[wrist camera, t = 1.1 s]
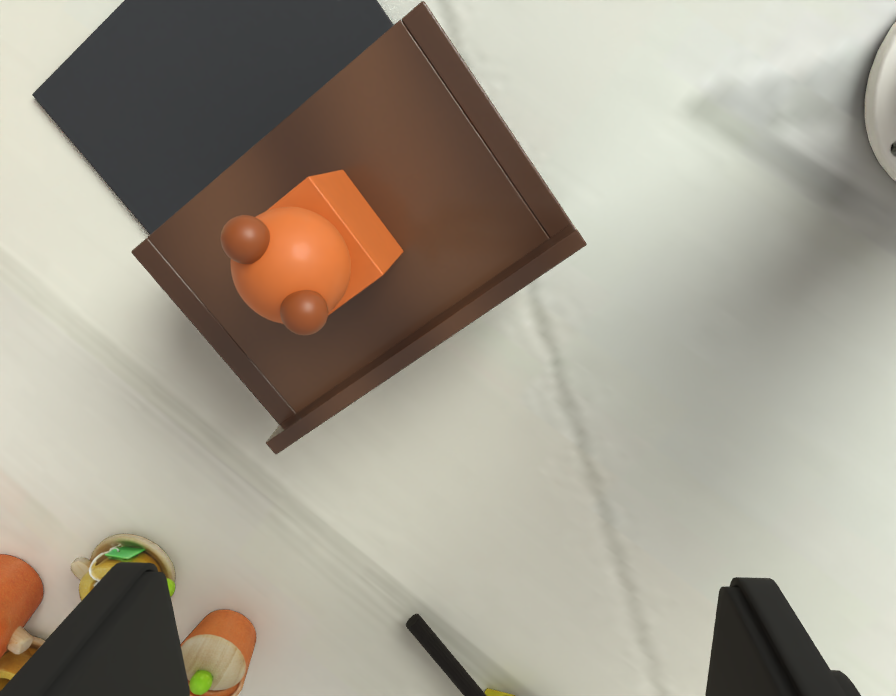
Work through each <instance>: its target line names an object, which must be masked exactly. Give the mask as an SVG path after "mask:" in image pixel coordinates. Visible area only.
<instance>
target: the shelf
mask: <svg viewBox="0 0 896 696" xmlns="http://www.w3.org/2000/svg"><path fill="white" fill-rule="evenodd" d="M338 170H344V172H345V173H346V174H347V176H348V177H349V178H350V180H351V181H352V182H353V184H354V185H355V186H356V188H357V189H358V190H359V192H360V193H361V194H362V196H363V197H364V198H365V200H366V201H367V203H368V204H369V205H370V207H371V208H372V209H373V211H374V212H375V213H376V215H377V216H378V217H379V219H380V220H381V221H382V223H383V224H384V225H385V227H386V228H387V229H388V231H389V232H390V233H391V235H392V236H393V237H394V239H395V240H396V241H397V243H398V244H399V245H400V247H401V248H402V249H403V251H404V252H403V253H402V254H401V255H400V257H399V258H398V259H397V260H396V261H395V262H394V263H393V265H392V266H391V267H390V268H389V269H388V270H387V272H386V273H385V274H384V275H383V276H382V277H380V278H379V279H378V280H376V281H375V282H374V283H372V284H371V285H369V286H368V287H367V288H365V289H364V290H363V291H361V292H360V293H358V294H357V295H356V296H354V297H353V298H352V299H350V300H349V301H348V302H346V303H345V304H343V305H342V306H341V307H339V308H338V309H337V310H335V311H334V312H333V313H331V314H330V315H328V318H327V321H326V323H325V325H324V326H323V327H322V329H320V330H319V331H318V332H316V333H314V334H311V335H298V334H295V333H293V332H291V331H290V330H289V329H287V328H286V326H285V325H284V324H281V323H277V322H273V321H271V320H268V319H266V318H264V317H262V316H260V315H259V314H257V313H256V312H255V311H253V310H252V309H251V308H250V307H249V306H248V305H247V304H246V303H245V302H244V300H243V299H242V298H241V296H240V295H239V293H238V291H237V289H236V287H235V285H234V282H233V278H232V274H231V258H229V257H228V256H227V255H226V253H225V252H224V250H223V248H222V245H221V232H222V229H223V227H224V225H225V224H226V223H227V222H228V221H229V220H230V219H232V218H234V217H236V216H240V215H249V216H253V217H256V216H258V215H259V214H261V213H263V212H265V211H267V210H268V209H269V208H270V207H272V206H273V205H274V204H275V203H276V202H278V201H279V200H280V199H281V198H283V197H284V196H285V195H286V194H287V193H289V192H290V191H291V190H292V189H294V188H295V187H296V186H297V185H298V184H300V183H301V182H302V181H303V180H305V179H306V178H307V177H309V176H314V175H319V174H324V173H328V172H333V171H338ZM586 245H587V244H586V242H585V241H584V239H583V238H582V236H581V235H580V233H579V232H578V230H577V229H576V227H575V226H574V225H573V224H572V222H571V221H570V219H569V218H568V216H567V215H566V213H565V212H564V210H563V209H562V207H561V206H560V204H559V203H558V201H557V200H556V198H555V197H554V195H553V194H552V192H551V191H550V189H549V188H548V186H547V185H546V183H545V182H544V180H543V179H542V177H541V176H540V174H539V173H538V171H537V170H536V168H535V167H534V165H533V164H532V162H531V161H530V159H529V158H528V156H527V155H526V153H525V152H524V150H523V149H522V147H521V146H520V144H519V143H518V141H517V140H516V138H515V137H514V135H513V134H512V132H511V131H510V129H509V128H508V126H507V125H506V123H505V122H504V120H503V119H502V117H501V116H500V114H499V113H498V111H497V110H496V108H495V107H494V105H493V104H492V102H491V101H490V99H489V98H488V96H487V95H486V93H485V92H484V90H483V89H482V87H481V86H480V84H479V83H478V81H477V80H476V78H475V77H474V75H473V74H472V72H471V71H470V69H469V68H468V66H467V65H466V63H465V62H464V60H463V59H462V57H461V56H460V54H459V53H458V51H457V50H456V48H455V47H454V45H453V44H452V42H451V41H450V39H449V38H448V36H447V35H446V33H445V32H444V30H443V29H442V27H441V26H440V24H439V23H438V21H437V20H436V18H435V17H434V15H433V14H432V12H431V11H430V9H429V8H428V6H427V5H426V3H425V2H424V1H422V2H421V3H420V4H418V5H417V6H416V7H415V8H414V9H413V10H411V11H410V12H409V13H408V14H407V15H406V16H404V17H403V18H402V21H401V20H399V21H398V22H397V23H396V24H395V25H394V26H392V27H391V28H390V29H389V30H388V31H387V32H385V33H384V34H383V35H382V36H381V37H380V38H378V39H377V40H376V41H375V42H374V43H373V44H372V45H370V46H369V47H368V48H367V49H366V50H365V51H363V52H362V53H361V54H360V55H359V56H358V57H356V58H355V59H354V60H353V61H352V62H351V63H349V64H348V65H347V66H346V67H345V68H344V69H342V70H341V71H340V72H339V73H338V74H337V75H335V76H334V77H333V78H332V79H331V80H330V81H328V82H327V83H326V84H325V85H324V86H323V87H322V88H320V89H319V90H318V91H317V92H316V93H315V94H313V95H312V96H311V97H310V98H309V99H308V100H306V101H305V102H304V103H303V104H302V105H301V106H299V107H298V108H297V109H296V110H295V111H294V112H292V113H291V114H290V115H289V116H288V117H287V118H285V119H284V120H283V121H282V122H281V123H280V124H279V125H277V126H276V127H275V128H274V129H273V130H272V131H270V132H269V133H268V134H267V135H266V136H265V137H263V138H262V139H261V140H260V141H259V142H258V143H256V144H255V145H254V146H253V147H252V148H251V149H249V150H248V151H247V152H246V153H245V154H244V155H242V156H241V157H240V158H239V159H238V160H237V161H236V162H234V163H233V164H232V165H231V166H230V167H229V168H227V169H226V170H225V171H224V172H223V173H222V174H220V175H219V176H218V177H217V178H216V179H215V180H213V181H212V182H211V183H210V184H209V185H208V186H206V187H205V188H204V189H203V190H202V191H201V192H199V193H198V194H197V195H196V196H195V197H194V198H192V199H191V200H190V201H189V202H188V203H187V204H186V205H184V206H183V207H182V208H181V209H180V210H179V211H177V212H176V213H175V214H174V215H173V216H172V217H170V218H169V219H168V220H167V221H166V222H165V223H163V224H162V225H161V226H160V227H159V228H158V229H156V230H155V231H154V232H153V233H152V234H151V235H149V236H148V238H146V239H145V240H144V241H143V242H142V243H140V244H139V245H138V246H137V247H136V248H135V249H133V250H132V254H133V255H134V256H135V257H136V258H137V260H138V261H139V262H140V263H141V264H142V265H143V267H144V268H145V269H146V270H147V271H148V272H149V273H150V275H151V276H152V277H153V278H154V279H155V280H156V282H157V283H158V284H159V285H160V286H161V287H162V289H163V290H164V291H165V292H166V293H167V294H168V296H169V297H170V298H171V299H172V300H173V301H174V303H175V304H176V305H177V306H178V307H179V308H180V310H181V311H182V312H183V313H184V314H185V315H186V317H187V318H188V319H189V320H190V321H191V322H192V324H193V325H194V326H195V327H196V328H197V329H198V331H199V332H200V333H201V334H202V335H203V336H204V338H205V339H206V340H207V341H208V342H209V343H210V344H211V346H212V347H213V348H214V349H215V350H216V351H217V353H218V354H219V355H220V356H221V357H222V358H223V360H224V361H225V362H226V363H227V364H228V365H229V367H230V368H231V369H232V370H233V371H234V372H235V374H236V375H237V376H238V377H239V378H240V379H241V381H242V382H243V383H244V384H245V385H246V386H247V388H248V389H249V390H250V391H251V392H252V393H253V395H254V396H255V397H256V398H257V399H258V400H259V402H260V403H261V404H262V405H263V406H264V407H265V408H266V410H267V411H268V412H269V413H270V414H271V415H272V417H273V418H274V419H275V420H276V421H277V422H278V424H279V426H278V428H277V429H276V430H275V432H274V433H273V434H272V435H271V437H270V438H269V439H268V441H267V442H266V444H267V445H268V446H269V447H270V448H271V450H272V451H273V452H274V453H275V454H278V453H279V452H281V451H282V450H284V449H285V448H287V447H288V446H289V445H291V444H292V443H294V442H295V441H297V440H298V439H300V438H301V437H303V436H304V435H306V434H307V433H309V432H310V431H312V430H313V429H315V428H316V427H318V426H319V425H321V424H322V423H324V422H325V421H327V420H328V419H329V418H331V417H332V416H334V415H335V414H337V413H338V412H340V411H341V410H343V409H344V408H346V407H347V406H349V405H350V404H352V403H353V402H355V401H356V400H358V399H359V398H361V397H362V396H364V395H365V394H367V393H368V392H369V391H371V390H372V389H374V388H375V387H377V386H378V385H380V384H381V383H383V382H384V381H386V380H387V379H389V378H390V377H392V376H393V375H395V374H396V373H398V372H399V371H401V370H402V369H404V368H405V367H407V366H408V365H409V364H411V363H412V362H414V361H415V360H417V359H418V358H420V357H421V356H423V355H424V354H426V353H427V352H429V351H430V350H432V349H433V348H435V347H436V346H438V345H439V344H441V343H442V342H444V341H445V340H447V339H448V338H449V337H451V336H452V335H454V334H455V333H457V332H458V331H460V330H461V329H463V328H464V327H466V326H467V325H469V324H470V323H472V322H473V321H475V320H476V319H478V318H479V317H481V316H482V315H484V314H485V313H487V312H488V311H489V310H491V309H492V308H494V307H495V306H497V305H498V304H500V303H501V302H503V301H504V300H506V299H507V298H509V297H510V296H512V295H513V294H515V293H516V292H518V291H519V290H521V289H522V288H524V287H525V286H527V285H528V284H529V283H531V282H532V281H534V280H535V279H537V278H538V277H540V276H541V275H543V274H544V273H546V272H547V271H549V270H550V269H552V268H553V267H555V266H556V265H558V264H559V263H561V262H562V261H564V260H565V259H566V258H568V257H569V256H571V255H572V254H574V253H575V252H577V251H578V250H580V249H581V248H583V247H584V246H586Z"/></svg>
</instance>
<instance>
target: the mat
mask: <svg viewBox="0 0 896 696" xmlns="http://www.w3.org/2000/svg"><path fill="white" fill-rule="evenodd" d="M392 26H394V25H393V23H392V22H391V20H390V19H389V17H388V16H387V15H386V13H385V12H384V10H383V9H382V7H381V6H380V4H379V3H378V1H377V0H125V1H124V2H123V3H122V4H121V5H120V6H119V7H118V8H117V9H116V10H115V11H114V12H113V13H112V14H111V15H110V16H109V17H108V18H107V19H106V20H105V21H104V22H103V23H102V24H101V25H100V26H99V27H98V28H97V29H96V30H95V31H94V32H93V33H92V34H91V35H90V36H89V37H88V38H87V39H86V40H85V41H84V42H83V43H82V44H81V45H80V46H79V47H78V48H77V49H76V50H75V51H74V53H73V54H72V55H71V56H70V57H69V58H68V59H67V60H66V61H65V62H64V63H63V64H62V65H61V66H60V67H59V68H58V69H57V70H56V71H55V72H54V73H53V74H52V75H51V76H50V77H49V78H48V79H47V80H46V81H45V82H44V83H43V84H42V85H41V86H40V87H39V88H38V89H37V90H36V91H35V92H34V93H33V94H32V95H33V96H34V98H35V99H36V100H37V101H38V102H39V103H40V105H41V106H42V107H43V108H44V109H45V111H46V112H47V113H48V114H49V115H50V116H51V118H52V119H53V120H54V121H55V122H56V124H57V125H58V126H59V127H60V128H61V129H62V131H63V132H64V133H65V134H66V135H67V137H68V138H69V139H70V140H71V141H72V142H73V144H74V145H75V146H76V147H77V148H78V150H79V151H80V152H81V153H82V154H83V155H84V157H85V158H86V159H87V160H88V161H89V163H90V164H91V165H92V166H93V167H94V169H95V170H96V171H97V172H98V173H99V174H100V176H101V177H102V178H103V179H104V180H105V182H106V183H107V184H108V185H109V186H110V187H111V189H112V190H113V191H114V192H115V193H116V195H117V196H118V197H119V198H120V199H121V200H122V202H123V203H124V204H125V205H126V206H127V208H128V209H129V210H130V211H131V212H132V213H133V215H134V216H135V217H136V218H137V219H138V221H139V222H140V223H141V224H142V225H143V226H144V228H145V229H146V230H147V231H148V232H149V234H150V235H151V234H152V233H153V232H154V231H155V230H156V229H158V228H159V227H160V226H161V225H162V224H163V223H165V222H166V221H167V220H168V219H169V218H170V217H172V216H173V215H174V214H175V213H176V212H177V211H179V210H180V209H181V208H182V207H183V206H184V205H186V204H187V203H188V202H189V201H190V200H191V199H192V198H194V197H195V196H196V195H197V194H198V193H199V192H201V191H202V190H203V189H204V188H205V187H206V186H208V185H209V184H210V183H211V182H212V181H213V180H215V179H216V178H217V177H218V176H219V175H220V174H222V173H223V172H224V171H225V170H226V169H227V168H229V167H230V166H231V165H232V164H233V163H234V162H236V161H237V160H238V159H239V158H240V157H241V156H242V155H244V154H245V153H246V152H247V151H248V150H249V149H251V148H252V147H253V146H254V145H255V144H256V143H258V142H259V141H260V140H261V139H262V138H263V137H265V136H266V135H267V134H268V133H269V132H270V131H272V130H273V129H274V128H275V127H276V126H277V125H279V124H280V123H281V122H282V121H283V120H284V119H285V118H287V117H288V116H289V115H290V114H291V113H292V112H294V111H295V110H296V109H297V108H298V107H299V106H301V105H302V104H303V103H304V102H305V101H306V100H308V99H309V98H310V97H311V96H312V95H313V94H315V93H316V92H317V91H318V90H319V89H320V88H322V87H323V86H324V85H325V84H326V83H327V82H328V81H330V80H331V79H332V78H333V77H334V76H335V75H337V74H338V73H339V72H340V71H341V70H342V69H344V68H345V67H346V66H347V65H348V64H349V63H351V62H352V61H353V60H354V59H355V58H356V57H358V56H359V55H360V54H361V53H362V52H363V51H365V50H366V49H367V48H368V47H369V46H370V45H372V44H373V43H374V42H375V41H376V40H377V39H378V38H380V37H381V36H382V35H383V34H384V33H385V32H387V31H388V30H389V29H390V28H391V27H392Z"/></svg>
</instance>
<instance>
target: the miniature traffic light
mask: <svg viewBox="0 0 896 696" xmlns="http://www.w3.org/2000/svg"><path fill="white" fill-rule="evenodd" d="M406 627H407V628H408V629H409V631H410V632H411V633H412V634H413V635H414V636H415V638H416V639H417V640H418V641H419V642H420V644H421V645H422V646H423V647H424V648H425V650H426V651H427V652H428V653H429V654H430V656H431V657H432V658H433V659H434V660H435V662H436V663H437V664H438V665H439V666H440V667H441V669H442V670H443V671H444V672H445V673H446V675H447V676H448V677H449V678H450V679H451V681H452V682H453V683H454V684H455V685H456V687H457V688H458V689H459V690H460V691H461V693H462V694H463V695H464V696H515V695H512V694H508V693H504V692H500V691H496V690H492V689H488V688H487V689H486V690H485V693H484V692H483V691H482V690H481V688H480V687H479V686H478V685H477V684H476V682H475V681H474V680H473V679H472V678H471V676H470V675H469V674H468V673H467V672H466V670H465V669H464V668H463V667H462V666H461V664H460V663H459V662H458V661H457V660H456V658H455V657H454V656H453V655H452V654H451V652H450V651H449V650H448V649H447V648H446V646H445V645H444V644H443V643H442V642H441V640H440V639H439V638H438V637H437V636H436V634H435V633H434V632H433V631H432V630H431V628H430V627H429V626H428V625H427V624H426V622H425V621H424V620H423V619H422V618H421V616H420V615H419V614H415V615H413V616H412V617H411V618H410V619H409V620H408V621H407V623H406Z"/></svg>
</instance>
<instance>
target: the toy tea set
mask: <svg viewBox="0 0 896 696" xmlns="http://www.w3.org/2000/svg"><path fill="white" fill-rule="evenodd" d="M120 562H141V563H153V564H155V566H156V567H157V569H158V572H163V573H164V574H165V576H166V578H167V583H168V588H169V592H170V597H171V596H172V595H173V593H174V591H175V570H174V567H173V564H172V562H171V560H170V559H169V557H168V555H167V554H166V553H165V552H164V551H163V550H162V549H161V548H160V547H159V546H158V545H156V544H155V543H153V542H152V541H150V540H148V539H146V538H143V537H141V536H137V535H133V534H118V535H113V536H111V537H108V538H106V539H105V540H103V541H102V542H101V543H100V544H99V545H98V546H97V547H96V548H95V549H94V551H93V553H92V556H91V559H90V560H88V559H86V558H83V557H80V558H77V559H76V560H75V561H74V562H73V563H72V564H71V571H72V572H73V573H74V575H75V576H76V577H77V578H78V579H79V580H80V584H79V593H80V598H81V601H82V600H83V599H84V598H85V597H86V596H87V594H88V593H89V592H90V591H91V590H92V589H93V588H94V587H95V586H96V584H97V583H98V582H99V581H100V580H101V579H102V578H103V577H104V576H105V574H106V573H107V572H108V571H109V570H110V569H111V568H112V567H113V566H114V565H115V564H116V563H120ZM42 597H43V585H42V582H41V579H40V577H39V575H38V574H37V573H36V571H35V570H34V569H33V568H32V567H31V566H30V565H28V564H27V563H26V562H24V561H23V560H21V559H19V558H16V557H13V556H10V555H4V554H0V691H1V690H2V689H3V688H4V687H5V685H6V684H7V683H8V682H9V681H10V680H11V679H12V678H13V677H14V675H15V674H16V673H17V672H18V671H19V670H20V669H21V668H22V667H23V665H24V664H25V663H26V662H27V661H28V660H29V659H30V658H31V657H32V655H33V654H34V653H35V652H36V651H37V650H38V649H39V648H40V647H41V645H42V644H43V643H44V642H45V640H43V639H40V638H38V637H34V636H31V635H30V634H29V633H28V632H27V631H26V630H24V629H23V627H24V625H25V624H26V623H27V621H28V620H29V618H30V617H31V616H32V614H33V613H34V611H35V610H36V609H37V607H38V606H39V604H40V602H41V600H42ZM255 643H256V632H255V629H254V627H253V625H252V623H251V622H250V621H249V620H248V619H247V618H246V617H245V616H243V615H242V614H240V613H238V612H235V611H232V610H216V611H214V612H212V613H210V614H208V615H207V616H206V617H205V618H204V619H203V620H202V621H201V622H200V623H199V624H198V626H197V627H196V628H195V629H194V630H193V631H192V632H191V633H190V634H189V636H188V637H187V638H186V639H185V640H184V641H183V642H182V643H181V644H180V645H181V650H182V655H183V660H184V665H185V669H186V674H187V679H188V684H189V689H190V696H237V695H238V694H239V693H240V691H241V690H242V687H243V684H244V681H245V677H246V674H247V670H248V667H249V664H250V660H251V657H252V653H253V650H254V646H255Z"/></svg>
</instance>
